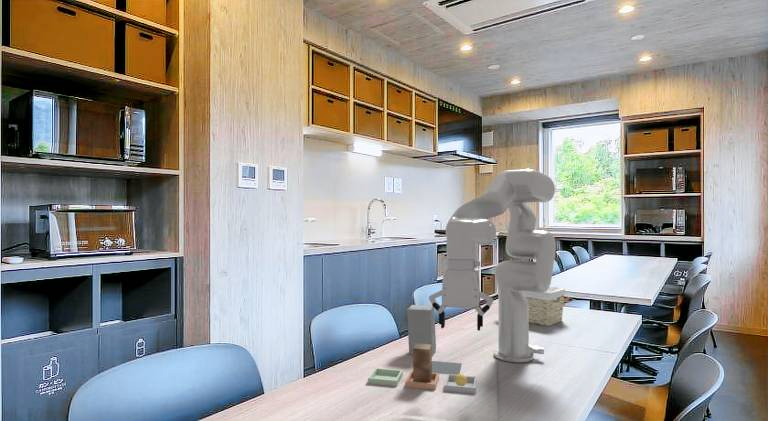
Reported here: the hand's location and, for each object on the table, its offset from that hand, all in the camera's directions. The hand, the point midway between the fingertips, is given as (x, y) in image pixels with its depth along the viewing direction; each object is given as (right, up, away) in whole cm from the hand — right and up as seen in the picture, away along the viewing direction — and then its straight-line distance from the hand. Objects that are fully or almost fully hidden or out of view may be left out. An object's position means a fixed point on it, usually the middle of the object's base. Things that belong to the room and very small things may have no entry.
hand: (460, 328), depth 121 cm
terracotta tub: (-10, -16, +2) cm, 19 cm away
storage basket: (+44, -16, +75) cm, 89 cm away
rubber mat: (-3, -16, +14) cm, 22 cm away
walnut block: (-10, -16, +2) cm, 19 cm away
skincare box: (-8, -17, +30) cm, 35 cm away
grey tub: (0, -16, 0) cm, 16 cm away
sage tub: (-20, -16, +5) cm, 27 cm away
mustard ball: (0, -14, 0) cm, 14 cm away
